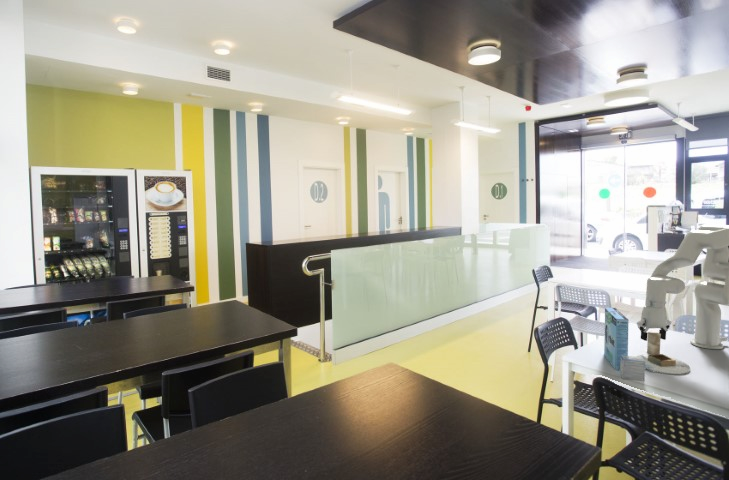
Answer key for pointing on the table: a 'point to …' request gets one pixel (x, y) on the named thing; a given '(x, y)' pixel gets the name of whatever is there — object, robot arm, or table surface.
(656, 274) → the robot arm
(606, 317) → the gum box
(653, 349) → the tan block
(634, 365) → the medicine box
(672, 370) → the rosette plate
